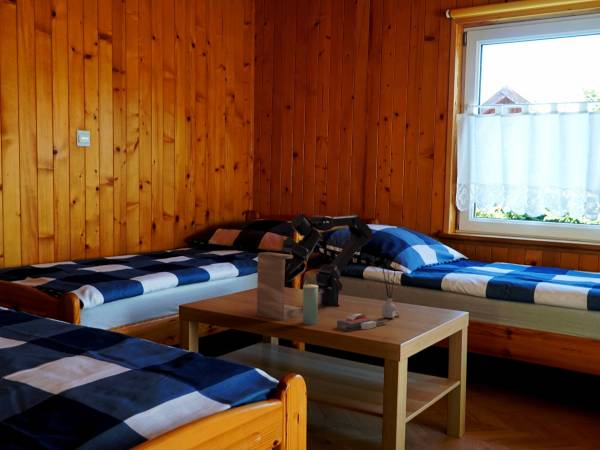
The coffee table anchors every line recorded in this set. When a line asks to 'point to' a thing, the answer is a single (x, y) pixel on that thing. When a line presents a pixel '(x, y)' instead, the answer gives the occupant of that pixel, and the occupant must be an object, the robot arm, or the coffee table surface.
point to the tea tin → (310, 304)
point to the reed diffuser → (389, 301)
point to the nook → (273, 287)
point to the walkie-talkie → (357, 323)
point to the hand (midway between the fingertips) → (287, 277)
